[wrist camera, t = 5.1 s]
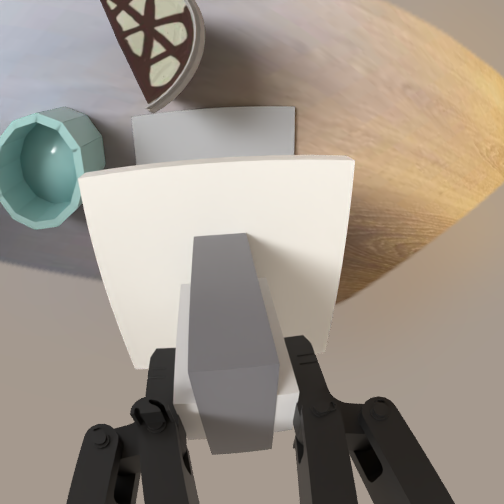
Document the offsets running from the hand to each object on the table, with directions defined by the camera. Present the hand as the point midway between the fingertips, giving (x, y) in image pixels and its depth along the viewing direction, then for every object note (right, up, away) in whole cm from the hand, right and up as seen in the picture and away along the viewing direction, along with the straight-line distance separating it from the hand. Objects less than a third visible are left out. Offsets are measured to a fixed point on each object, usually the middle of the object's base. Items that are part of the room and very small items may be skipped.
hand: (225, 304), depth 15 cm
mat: (-2, +9, +17) cm, 19 cm away
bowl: (-19, +13, +12) cm, 26 cm away
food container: (-6, +23, +9) cm, 25 cm away
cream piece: (0, +1, +2) cm, 3 cm away
